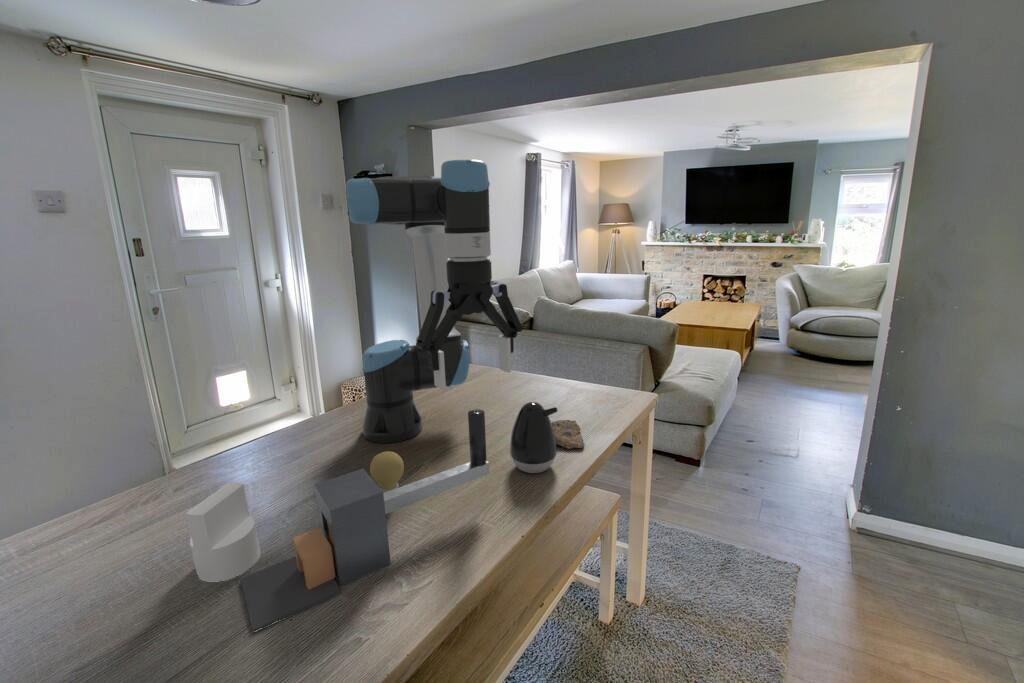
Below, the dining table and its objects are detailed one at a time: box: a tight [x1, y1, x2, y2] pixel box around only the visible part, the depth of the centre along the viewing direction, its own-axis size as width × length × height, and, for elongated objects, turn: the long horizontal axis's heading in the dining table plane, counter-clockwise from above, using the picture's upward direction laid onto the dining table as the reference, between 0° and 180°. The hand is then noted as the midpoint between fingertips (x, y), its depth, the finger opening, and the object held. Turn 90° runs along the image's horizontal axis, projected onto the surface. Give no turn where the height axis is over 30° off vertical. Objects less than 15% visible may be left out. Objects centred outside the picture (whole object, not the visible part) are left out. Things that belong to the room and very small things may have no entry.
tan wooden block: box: [292, 527, 336, 590], centre depth 74 cm, size 6×4×6 cm, turn 38°
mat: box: [240, 555, 341, 633], centre depth 73 cm, size 12×12×1 cm
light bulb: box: [369, 450, 405, 493], centre depth 94 cm, size 6×6×10 cm
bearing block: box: [313, 468, 392, 587], centre depth 77 cm, size 9×8×13 cm
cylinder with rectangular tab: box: [185, 482, 261, 581], centre depth 77 cm, size 9×9×12 cm
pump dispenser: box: [509, 401, 558, 474], centre depth 103 cm, size 10×10×15 cm
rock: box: [551, 419, 585, 450], centre depth 117 cm, size 9×6×10 cm
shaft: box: [327, 408, 490, 526], centre depth 81 cm, size 3×29×12 cm, turn 126°
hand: (474, 378), depth 86 cm, fingers open, 13 cm apart
